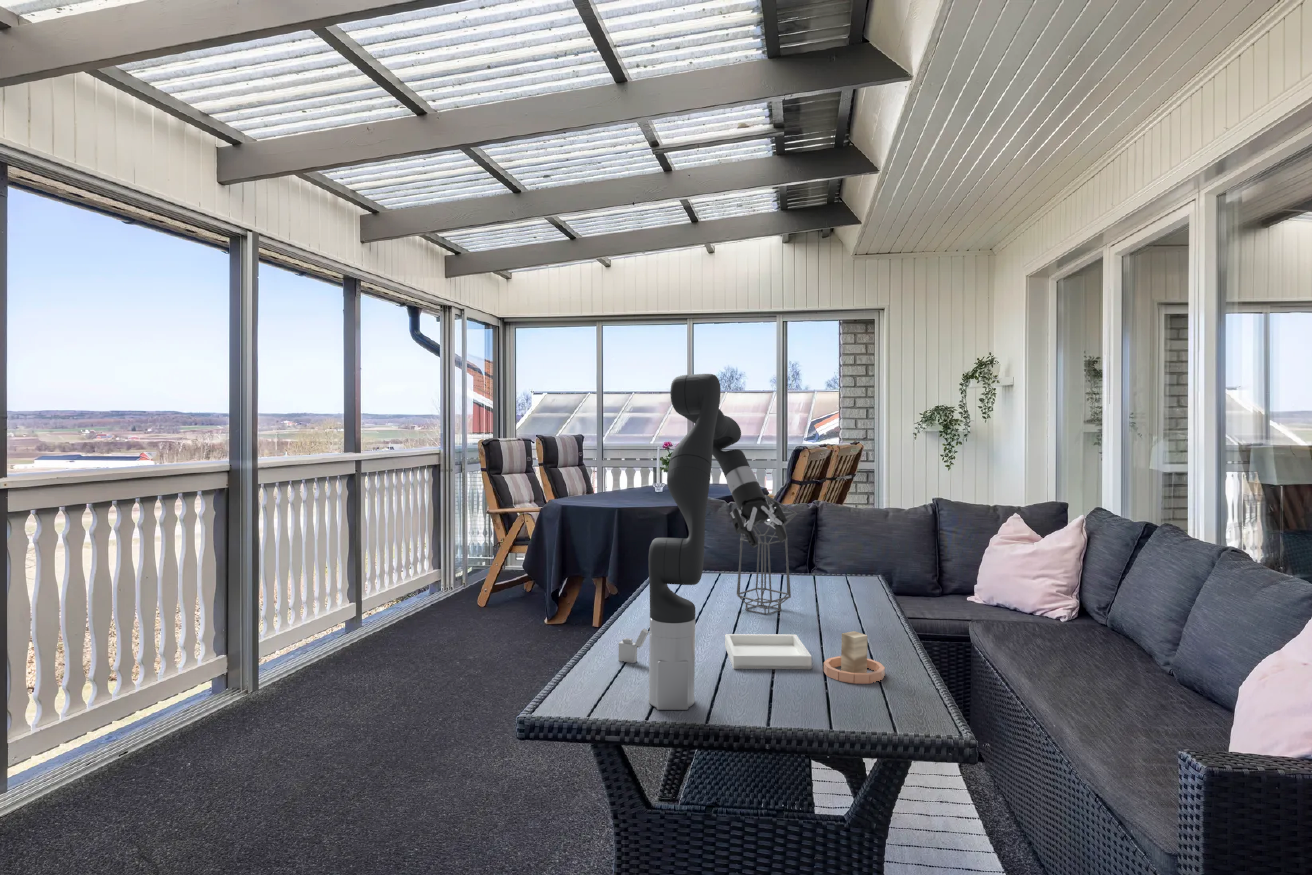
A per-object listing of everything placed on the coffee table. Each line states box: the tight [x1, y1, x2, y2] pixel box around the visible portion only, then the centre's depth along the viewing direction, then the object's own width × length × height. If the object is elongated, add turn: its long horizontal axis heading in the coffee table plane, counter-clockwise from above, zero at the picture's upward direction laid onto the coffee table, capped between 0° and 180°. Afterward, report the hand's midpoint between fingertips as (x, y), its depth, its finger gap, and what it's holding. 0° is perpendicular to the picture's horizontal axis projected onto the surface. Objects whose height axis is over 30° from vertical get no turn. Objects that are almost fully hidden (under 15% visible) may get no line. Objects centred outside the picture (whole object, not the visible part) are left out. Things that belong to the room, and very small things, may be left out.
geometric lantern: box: [736, 494, 798, 615], centre depth 233 cm, size 16×16×35 cm
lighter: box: [618, 628, 650, 664], centre depth 183 cm, size 7×2×8 cm, turn 69°
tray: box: [724, 633, 813, 670], centre depth 188 cm, size 18×18×3 cm
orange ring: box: [823, 655, 886, 685], centre depth 176 cm, size 13×13×2 cm
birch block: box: [840, 630, 868, 673], centre depth 176 cm, size 4×4×9 cm
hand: (769, 543), depth 194 cm, fingers open, 8 cm apart
